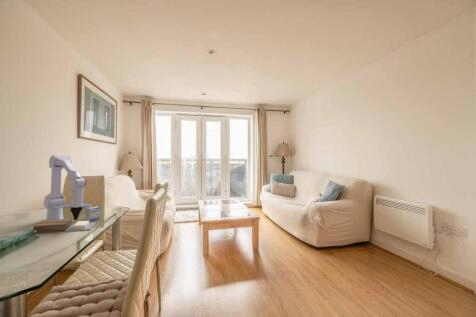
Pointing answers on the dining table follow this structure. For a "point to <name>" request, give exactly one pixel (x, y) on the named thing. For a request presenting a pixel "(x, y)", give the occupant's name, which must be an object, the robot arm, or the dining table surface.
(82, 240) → the dining table surface
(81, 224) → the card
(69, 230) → the mat
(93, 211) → the medicine box
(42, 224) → the brown wooden tray
